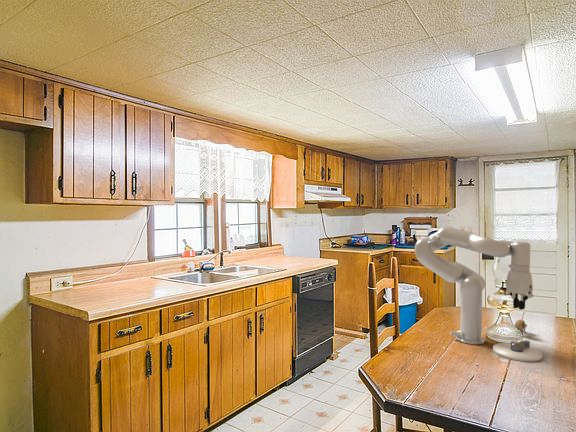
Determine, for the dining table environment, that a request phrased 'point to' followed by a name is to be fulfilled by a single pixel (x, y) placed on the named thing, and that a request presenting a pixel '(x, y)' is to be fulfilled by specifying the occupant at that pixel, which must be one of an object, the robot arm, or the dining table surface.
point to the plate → (517, 353)
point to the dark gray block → (520, 345)
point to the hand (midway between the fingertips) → (518, 308)
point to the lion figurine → (521, 326)
